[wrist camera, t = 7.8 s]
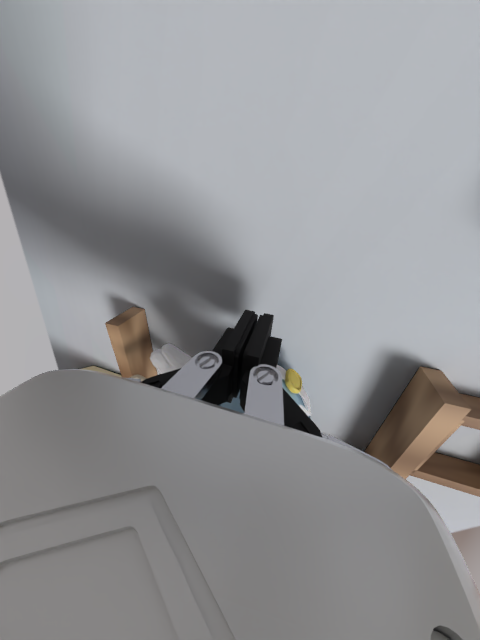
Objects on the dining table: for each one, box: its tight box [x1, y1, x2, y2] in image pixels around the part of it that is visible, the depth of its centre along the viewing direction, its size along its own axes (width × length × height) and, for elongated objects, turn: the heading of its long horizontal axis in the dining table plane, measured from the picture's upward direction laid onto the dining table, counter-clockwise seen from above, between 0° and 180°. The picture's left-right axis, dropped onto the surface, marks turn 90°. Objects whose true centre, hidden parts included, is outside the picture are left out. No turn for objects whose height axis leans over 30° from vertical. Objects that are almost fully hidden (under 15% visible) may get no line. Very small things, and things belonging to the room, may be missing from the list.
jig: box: [105, 307, 480, 497], centre depth 17 cm, size 12×31×3 cm, turn 87°
